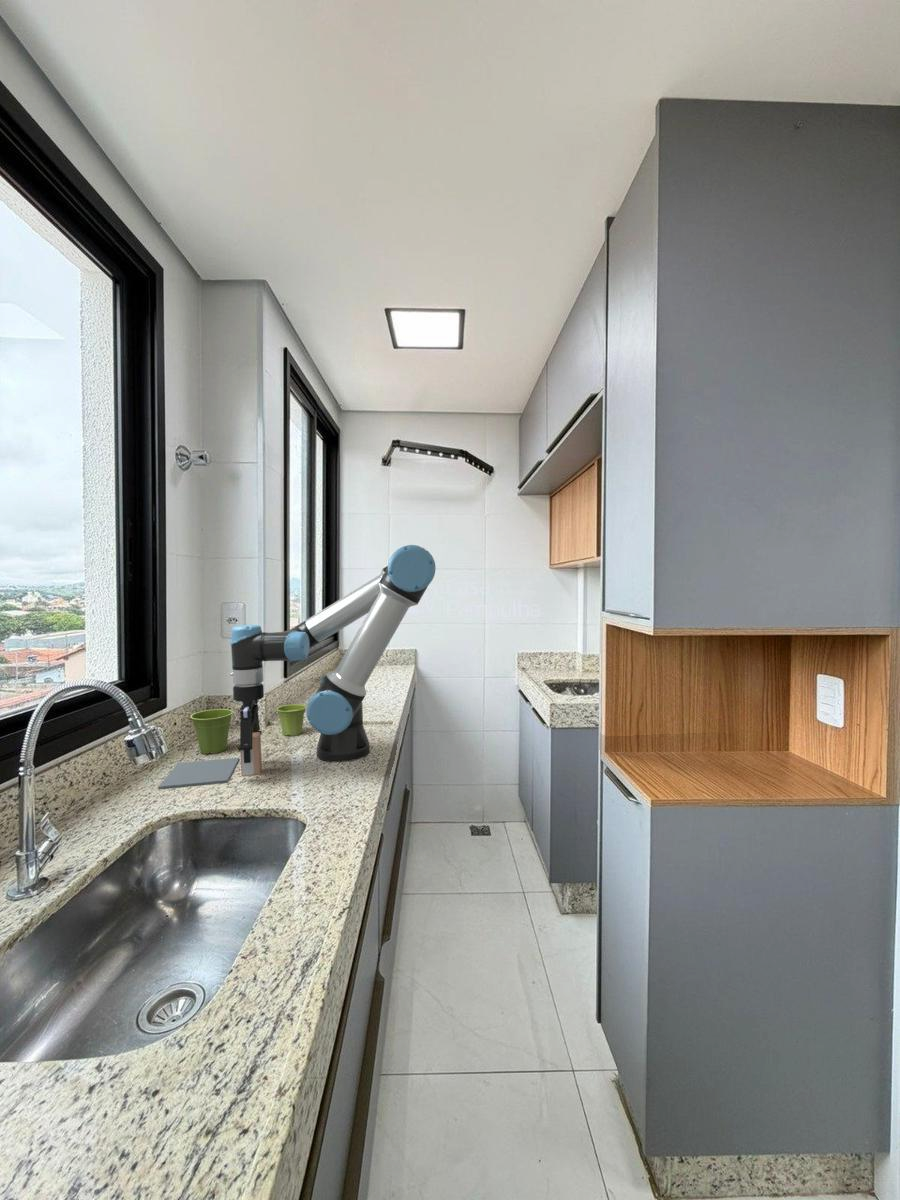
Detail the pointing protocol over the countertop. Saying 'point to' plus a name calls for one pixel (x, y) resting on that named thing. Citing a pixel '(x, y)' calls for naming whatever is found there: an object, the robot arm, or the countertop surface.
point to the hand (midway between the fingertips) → (251, 766)
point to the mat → (200, 773)
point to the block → (255, 754)
